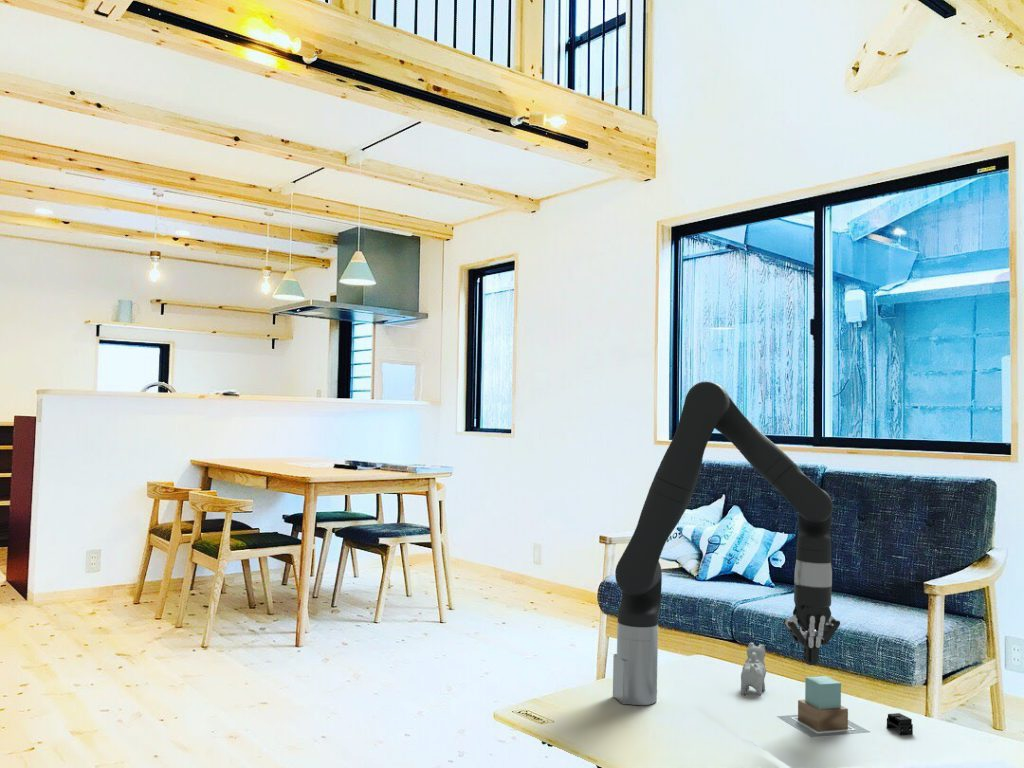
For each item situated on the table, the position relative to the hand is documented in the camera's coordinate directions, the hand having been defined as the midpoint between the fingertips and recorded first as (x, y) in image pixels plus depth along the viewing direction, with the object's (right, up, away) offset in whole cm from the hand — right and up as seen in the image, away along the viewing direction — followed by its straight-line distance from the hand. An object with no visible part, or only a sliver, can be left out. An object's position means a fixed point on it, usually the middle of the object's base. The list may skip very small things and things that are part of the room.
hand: (810, 664), depth 178 cm
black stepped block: (+16, -14, -6) cm, 22 cm away
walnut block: (+1, -11, -3) cm, 12 cm away
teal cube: (+2, -7, -3) cm, 8 cm away
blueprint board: (+1, -12, -3) cm, 13 cm away
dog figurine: (-6, -14, +21) cm, 26 cm away
